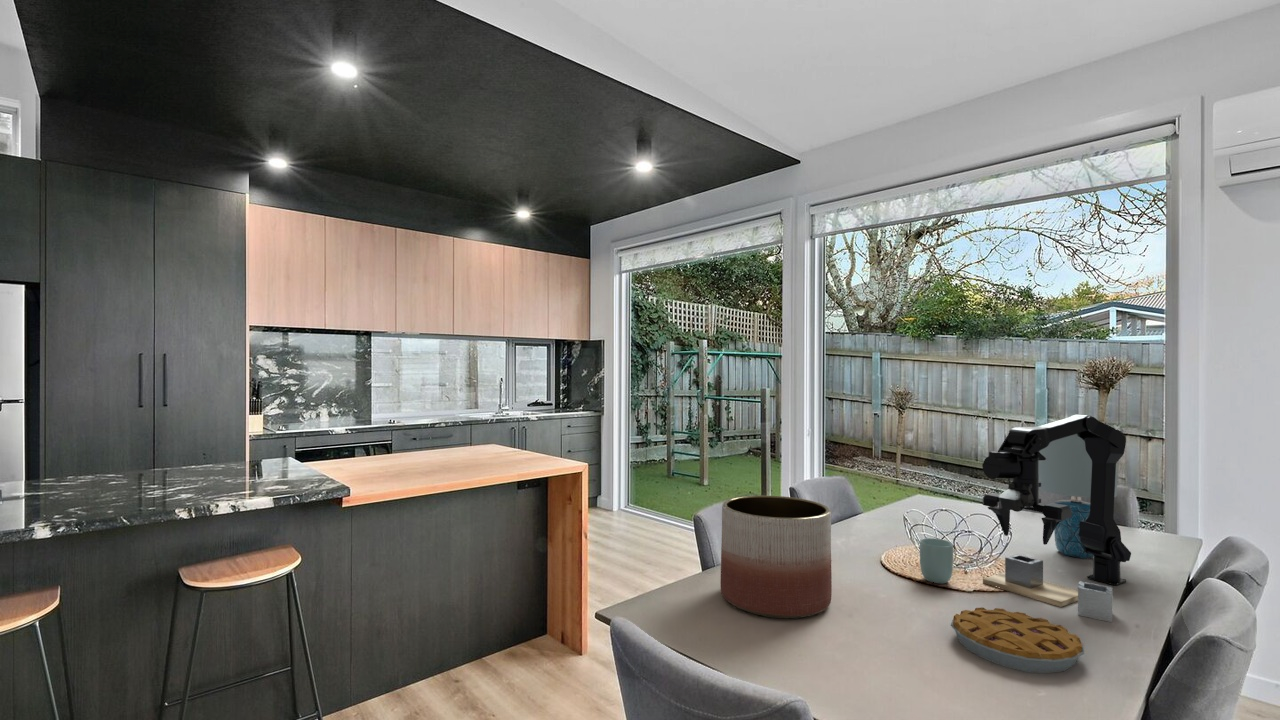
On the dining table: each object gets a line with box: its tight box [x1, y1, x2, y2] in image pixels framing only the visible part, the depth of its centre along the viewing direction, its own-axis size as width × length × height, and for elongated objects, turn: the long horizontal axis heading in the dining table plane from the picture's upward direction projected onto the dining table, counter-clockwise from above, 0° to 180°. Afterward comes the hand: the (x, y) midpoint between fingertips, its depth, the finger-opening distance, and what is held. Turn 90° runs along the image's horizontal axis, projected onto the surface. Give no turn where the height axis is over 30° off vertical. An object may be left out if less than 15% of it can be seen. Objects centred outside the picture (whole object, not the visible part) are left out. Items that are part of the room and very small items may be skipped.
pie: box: [950, 606, 1085, 674], centre depth 118 cm, size 22×22×5 cm
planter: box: [720, 495, 833, 619], centre depth 142 cm, size 25×25×22 cm
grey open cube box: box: [1077, 580, 1113, 623], centre depth 136 cm, size 6×6×6 cm
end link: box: [1004, 553, 1044, 589], centre depth 152 cm, size 6×6×6 cm
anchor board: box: [982, 571, 1078, 608], centre depth 150 cm, size 12×18×6 cm, turn 31°
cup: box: [919, 537, 954, 584], centre depth 156 cm, size 8×8×10 cm
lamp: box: [1039, 434, 1118, 559], centre depth 181 cm, size 19×19×38 cm
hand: (1025, 539), depth 153 cm, fingers open, 9 cm apart
